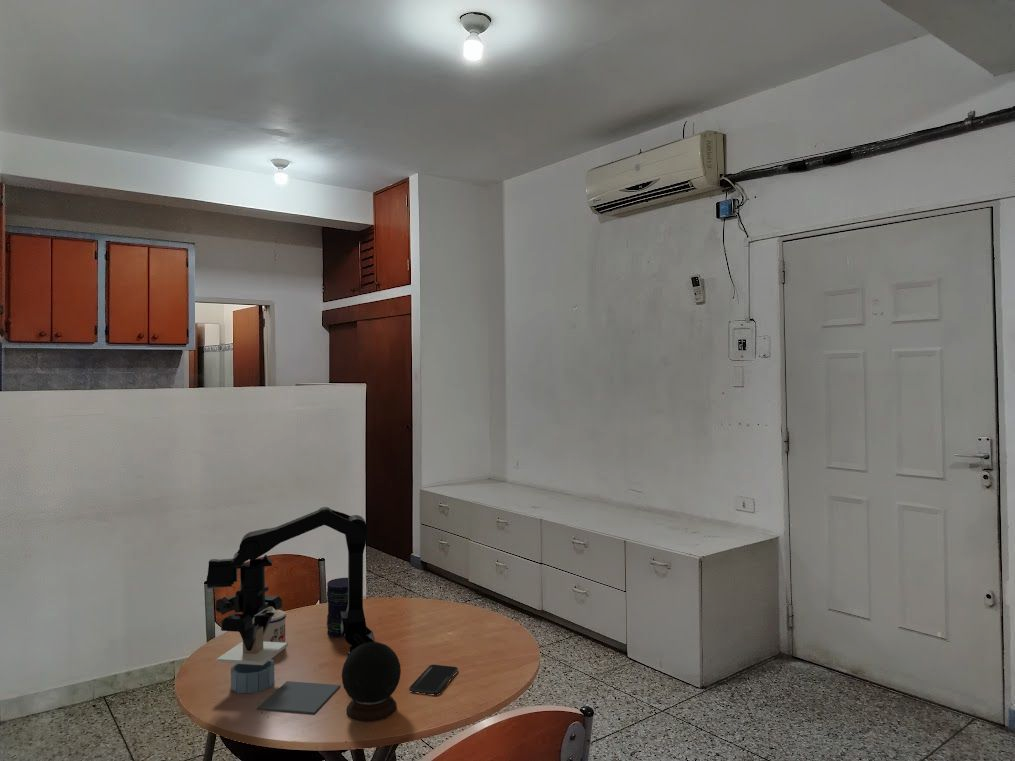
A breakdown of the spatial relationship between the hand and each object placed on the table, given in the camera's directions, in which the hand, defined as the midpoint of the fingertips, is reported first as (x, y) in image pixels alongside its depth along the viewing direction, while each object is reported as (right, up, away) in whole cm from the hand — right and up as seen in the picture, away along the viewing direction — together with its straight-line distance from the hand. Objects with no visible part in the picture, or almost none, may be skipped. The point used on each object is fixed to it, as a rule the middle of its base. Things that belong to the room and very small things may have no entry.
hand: (253, 647), depth 169 cm
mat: (+14, -9, -7) cm, 18 cm away
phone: (+45, -9, +1) cm, 46 cm away
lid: (0, -2, 0) cm, 2 cm away
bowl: (0, -9, 0) cm, 9 cm away
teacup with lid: (-4, -9, +25) cm, 27 cm away
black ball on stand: (+32, -9, -14) cm, 36 cm away
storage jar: (+14, -9, +35) cm, 39 cm away
